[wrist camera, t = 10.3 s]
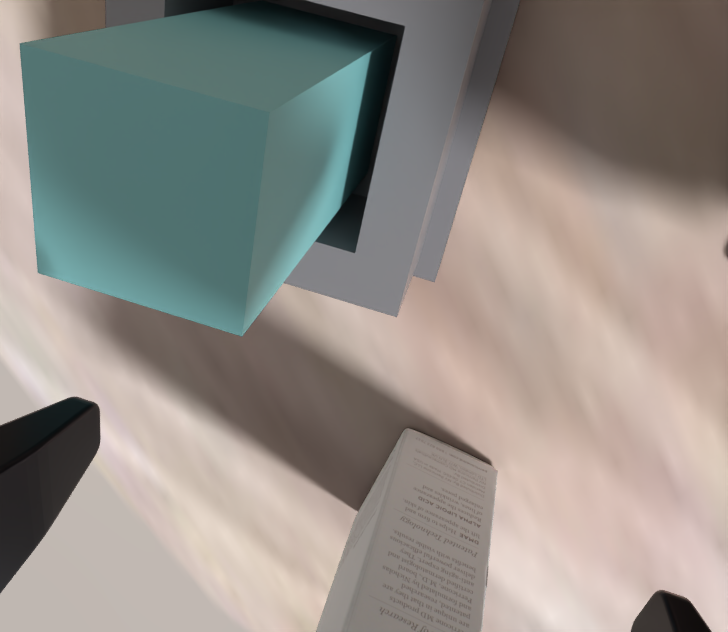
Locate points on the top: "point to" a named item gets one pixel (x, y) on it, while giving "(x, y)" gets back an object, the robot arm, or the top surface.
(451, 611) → the skincare box
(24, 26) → the top surface
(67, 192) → the teal peg
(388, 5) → the socket block
